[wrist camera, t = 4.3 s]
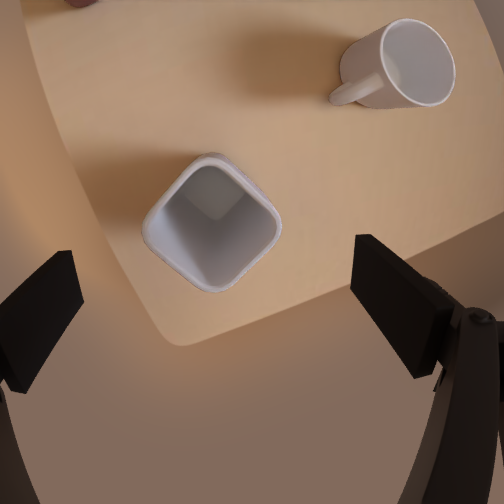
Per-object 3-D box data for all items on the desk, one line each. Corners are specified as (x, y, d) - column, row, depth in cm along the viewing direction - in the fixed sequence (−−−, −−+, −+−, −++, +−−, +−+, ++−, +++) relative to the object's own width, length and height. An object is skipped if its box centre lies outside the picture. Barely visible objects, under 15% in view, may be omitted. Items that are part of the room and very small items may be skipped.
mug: (335, 137, 32) (378, 141, 23) (295, 72, 30) (324, 50, 20) (412, 92, 31) (468, 88, 21) (378, 32, 28) (426, 9, 19)
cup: (167, 190, 33) (130, 233, 19) (213, 139, 32) (207, 145, 18) (216, 234, 35) (215, 303, 21) (263, 186, 34) (294, 226, 20)
